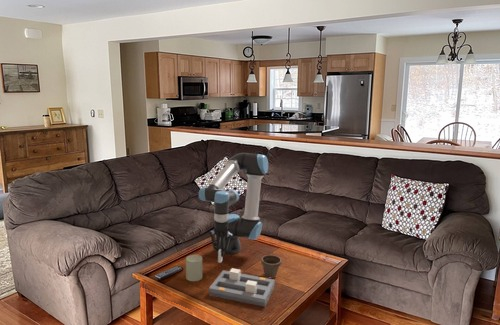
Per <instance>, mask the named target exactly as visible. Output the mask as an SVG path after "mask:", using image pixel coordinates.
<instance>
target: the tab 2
mask: <svg viewBox="0 0 500 325" xmlns="http://www.w3.org/2000/svg"><path fill="white" fill-rule="evenodd" d="M245 292H248V293H253V294H256V293H257V282H256V281H250V280H248V281H247V282H246V287H245Z"/></svg>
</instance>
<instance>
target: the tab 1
mask: <svg viewBox="0 0 500 325" xmlns="http://www.w3.org/2000/svg"><path fill="white" fill-rule="evenodd" d="M229 271H230V272H229V279H231V280H236V281H240V276H241V274H242V271H241V269H240V268H239V269H237V268H233V267H232V268H230V270H229Z"/></svg>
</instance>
